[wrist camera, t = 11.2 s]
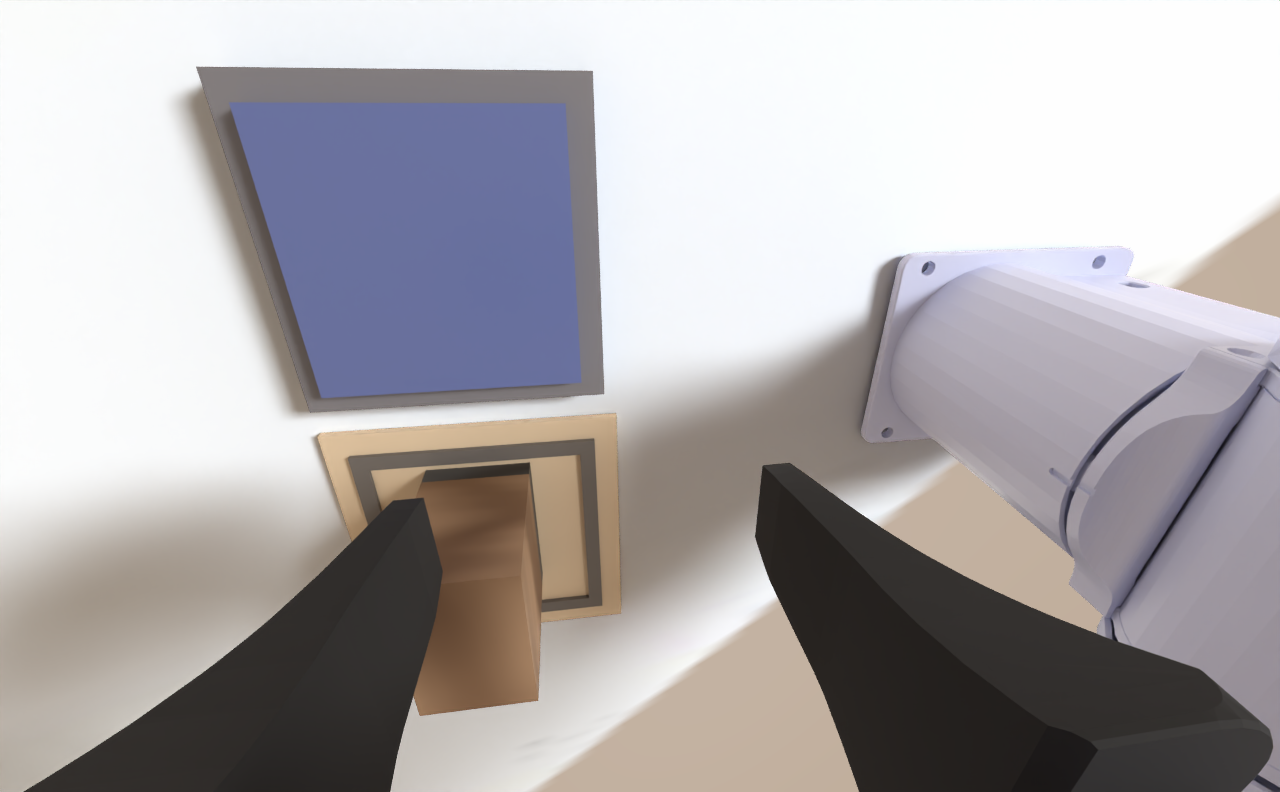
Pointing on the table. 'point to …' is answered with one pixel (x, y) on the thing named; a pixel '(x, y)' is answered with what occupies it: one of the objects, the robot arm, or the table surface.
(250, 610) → the table surface
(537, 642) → the brown rectangular block
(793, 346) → the table surface
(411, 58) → the table surface
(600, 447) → the marked card
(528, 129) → the ink pad
